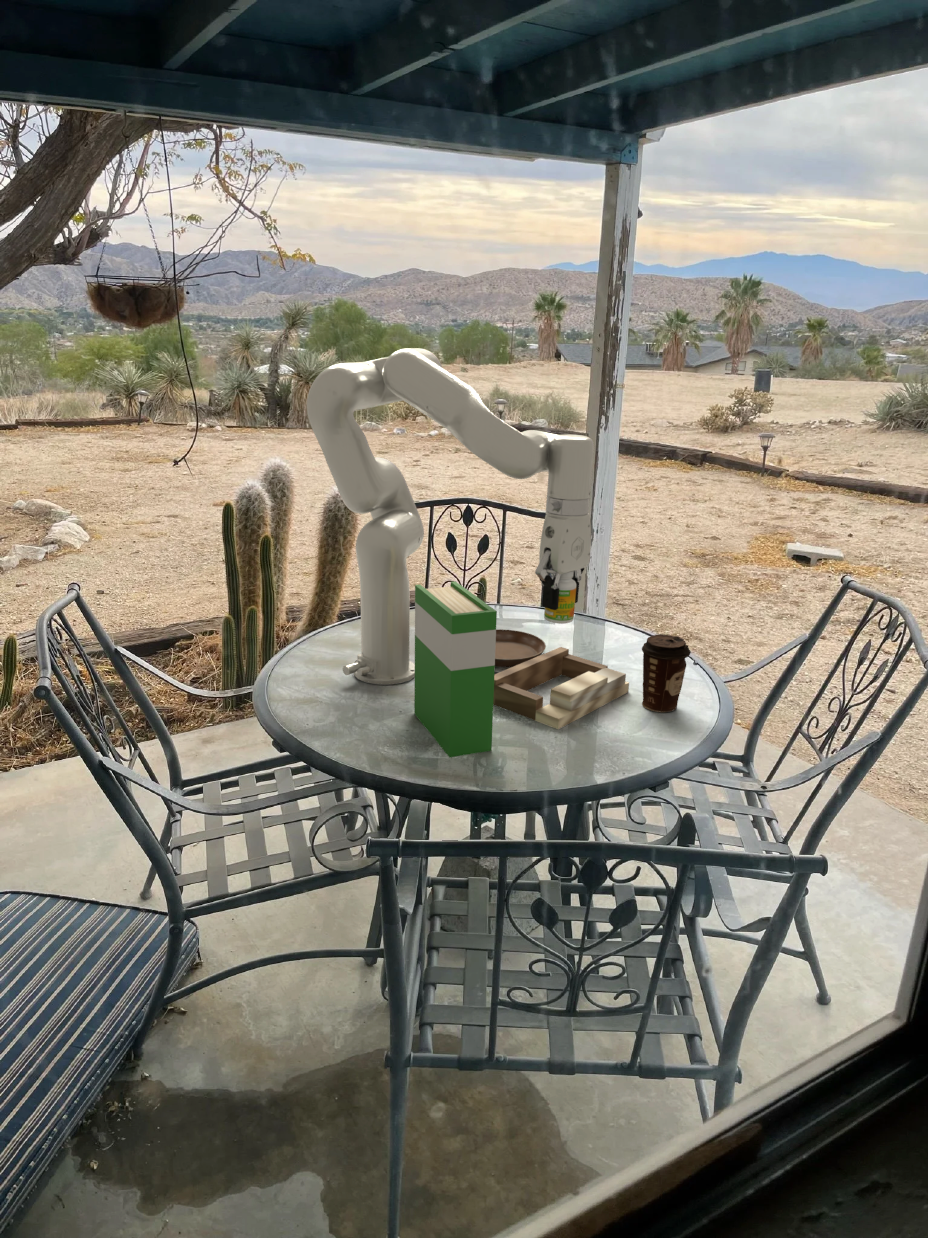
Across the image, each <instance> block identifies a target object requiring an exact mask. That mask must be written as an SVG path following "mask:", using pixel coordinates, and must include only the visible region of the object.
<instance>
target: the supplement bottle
mask: <svg viewBox="0 0 928 1238" xmlns="http://www.w3.org/2000/svg"><path fill="white" fill-rule="evenodd" d="M551 570H553V568H551ZM573 573H574V571H572V572H569V573H565V574H561V575H560V579H559V582H558V586H557V588H559V602H558V609H557V610H552V609H549V608H545V607H544V614H543V617H544V619H545V620H546V621H548V622H549V623H553V624H558V625H560V624H562V625H563V624H568V623H572V622H573V621H574V616H575V608H576V607H575V606H576V603H575V596H576V582H575V581H574V580H573V579H572V578H573ZM550 576H551V578H552V579H553V577H554V574H552V573H550Z"/></svg>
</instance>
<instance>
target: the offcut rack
mask: <svg viewBox="0 0 928 1238" xmlns="http://www.w3.org/2000/svg"><path fill="white" fill-rule="evenodd" d="M569 649H570V648H566V647H563V646H560V647H557V648H554V649H552V650H551V651H550V650H549V651H548V652H545V653H542V654H541V655H540V656H538V657H535V658H533V659H530V660H528V661H526V662H523V663H521V664H518V665H516V666H514V667H508V668H507V669H504V670H502V671H499V672H497V673H494V699H493V706H495V707H498V708H500V707H501V708H500V709H503V710H505V709H506V711H509V712H511V713H513V714H517V715H519V716H521V717H524V718H527V719H529V720H532V721H534V722H538V723H539V724H542V725H546V726H549V727H551V728H553V729H556V730H560V729H561V728H562V729H563V728H564V727H566V726H568V725H570V724H571V723H574V722H576V721H577V720H579V719H581V718H582V717H584V716H587V715H588V714H591V713H592V712H594V711H596V710H597V709H599V708H601V707H603V706H605V705H607V704H609V703H611V702H612V701H615V700H616V699H619V698H620V697H622V696H624V695H625V694H627V693H629V690H630V689H629V687H630V682H628V681H626V680H627V679H626V678H627V674H626V673H624V672H621V671H618V670H615V669H612V668H609V667H608V665H605V664H603V663H600V662H596V661H593V660H590V659H586V658H583V657H579V656H577V655H574V654H570V652H569V651H570V650H569ZM560 675H561V676H563V677H567V678H568V679H569V678H570V679H569V680H567V681H565V682H562V683H560V684H559V685H556V686H555V687H552V688H550V695H549V704H546V705H544V696H542V695H539V694H537V693H534V692H531V690H532V689H534V688H536V687H538V686H541V685H543V684H545V683H547V682H549V681H551V680H555V679H557V678H558V677H560Z"/></svg>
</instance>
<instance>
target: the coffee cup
mask: <svg viewBox="0 0 928 1238" xmlns="http://www.w3.org/2000/svg"><path fill="white" fill-rule="evenodd" d="M641 651H642V652H643V654H642V655H643V656H642V657H643V659H642V702H641V705H642V707H644V708H645V709H647V710H649V711H652V712H656V713H669V712H674V711H675V710H676V709H677V707H678V702H679V698H680V694H681V691H682V687H683V682H684V678H685V672H686V668H687V662H686V659H687V658H688V657H689V656H690V655H691V654H692V651H691V649H690V648H689V645H688V644H687V643H686V640H685V639H684V638H682V637H680V636H678V635H670V634H660V633H659V634H654V635H650V636H648V637H647V639H646V642H644V643H643V645H642V647H641Z"/></svg>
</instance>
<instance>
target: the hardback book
mask: <svg viewBox="0 0 928 1238" xmlns="http://www.w3.org/2000/svg"><path fill="white" fill-rule="evenodd" d="M497 613H498V611H497V610H496V609H494V608H493V607H492V606H490V605H489V604H487V603H486V602H485V601H483V600H482V599H481V598H479V597H478V596H476V595H475V594H474V593H472V592H471V591H469V590H468V589H467V588H465V587H464V586H463V585H461V584H460V583H458V582H457V581H450V586H443V587H442V586H441V587H432V588H430V587H429V588H426V587H424V586H423V585H421V584H414V664H415V677H414V695H413V696H414V699H413V700H414V705H413V706H414V709H413V710H414V715H415V716H416V718H417V720H419V722H420V723H421V724H422V725H423V727H424V728H425V729H426V730H427V731H428V733H429V734H430V735H431V737H432V738H433V739H434V740H435V741H436V743H437V744H438V745H439V747H440V748H441V749H442V751H444V753H445V754H446V756H447V757H448V758H455V757H461V756H466V755H474V754H480V753H484V752H485V753H486V752H490V751H493V750H492V747H493V727H494V726H493V725H494V723H493V721H494V705H493V699H494V674H496V671H495V668H496V667H495V646H496V629H497V619H498V618H497V617H498V616H497V615H498V614H497Z"/></svg>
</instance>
